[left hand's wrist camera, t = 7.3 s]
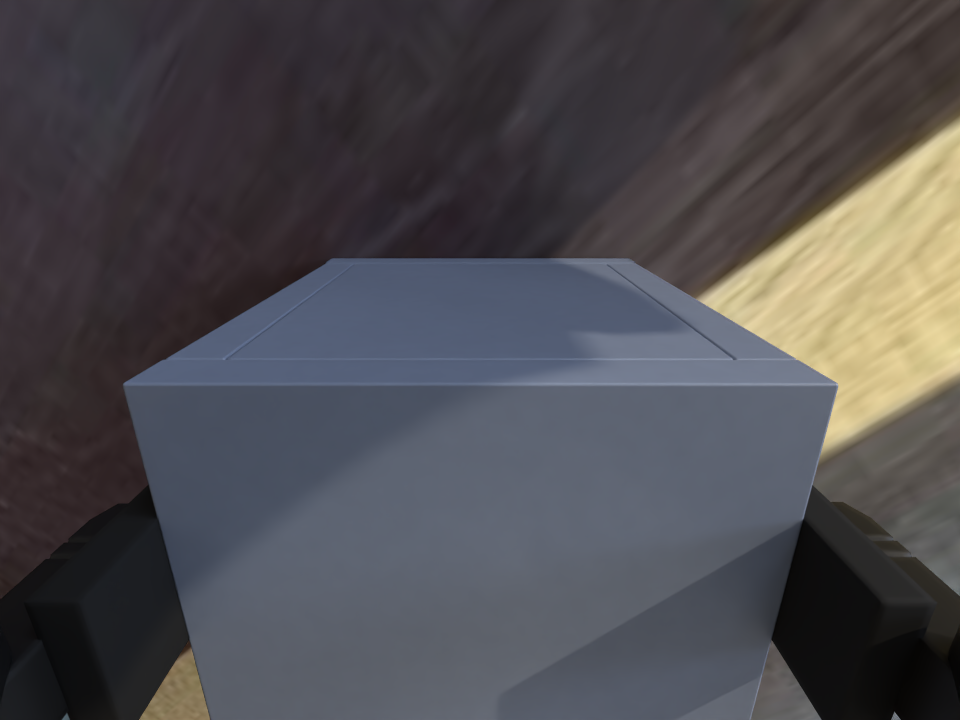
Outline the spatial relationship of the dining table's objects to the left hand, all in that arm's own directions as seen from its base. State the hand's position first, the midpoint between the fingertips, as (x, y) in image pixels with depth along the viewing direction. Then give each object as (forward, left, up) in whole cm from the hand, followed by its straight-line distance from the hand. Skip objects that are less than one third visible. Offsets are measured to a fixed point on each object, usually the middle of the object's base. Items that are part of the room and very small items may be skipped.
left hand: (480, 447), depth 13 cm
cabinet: (+3, +1, -7) cm, 8 cm away
